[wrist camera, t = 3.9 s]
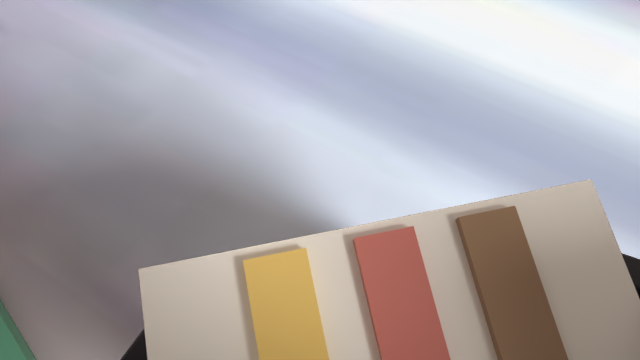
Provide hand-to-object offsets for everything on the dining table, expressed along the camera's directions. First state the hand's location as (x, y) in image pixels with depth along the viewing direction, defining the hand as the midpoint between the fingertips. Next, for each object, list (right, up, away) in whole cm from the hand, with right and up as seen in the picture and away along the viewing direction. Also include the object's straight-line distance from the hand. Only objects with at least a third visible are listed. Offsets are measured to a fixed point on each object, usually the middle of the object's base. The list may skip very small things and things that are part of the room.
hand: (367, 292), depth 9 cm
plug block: (0, -4, +7) cm, 8 cm away
